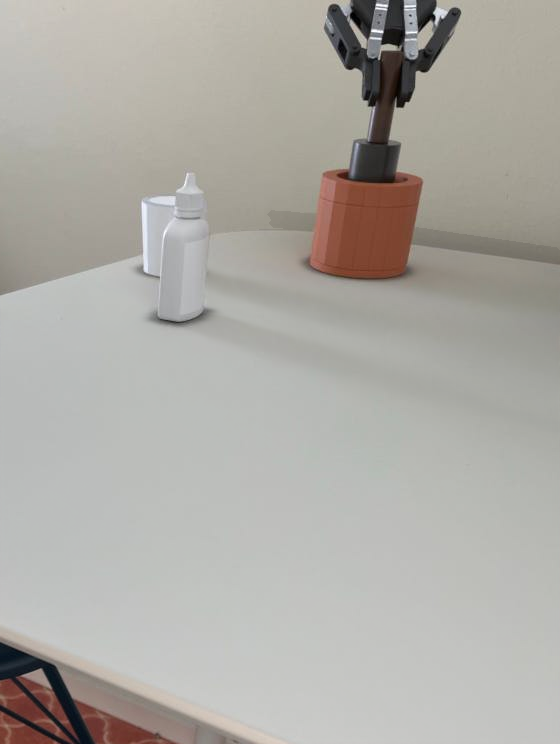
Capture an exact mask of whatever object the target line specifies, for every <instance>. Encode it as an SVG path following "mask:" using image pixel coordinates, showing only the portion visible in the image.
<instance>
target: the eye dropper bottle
mask: <svg viewBox="0 0 560 744" xmlns="http://www.w3.org/2000/svg"><path fill="white" fill-rule="evenodd" d="M204 194H205V192H204V191H203V190H202V189H201V188H199V187H198V185H197V177H196V173H194V172H187V174H186V177H185V181H184V184H183V186H182V187H180V188H178V189H176V190H175V195H176V197H175V212H174V214H175V215H176V216H175V217H174V219H173V220H172V221H171V222H170V223H169V224H168V225H167V227H166V229H165V231H164V234H163V242H162V255H161V270H160V277H159V289H158V303H157V304H158V305H157V317H158V318H159V319H160V320H165V321H169V322H176V323H182V322H186V321H190V320H193V319H195V318H197V317H199V316H200V315H201V314H202V312H203V311H204V307H205V297H206V285H207V273H208V263H209V251H210V249H209V248H210V238H211V237H210V236H211V228H210V225H209V223H208V222H207V221H206V219H205V220H203V219H201V217H200V216H202V209H203V199H204Z"/></svg>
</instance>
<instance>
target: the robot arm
mask: <svg viewBox="0 0 560 744" xmlns="http://www.w3.org/2000/svg"><path fill="white" fill-rule="evenodd" d="M461 16H462V10H461V9H460V8H459V7H457V6H456V7H455V6H454V7H451V8H450V9H449V10H446V9H443V8H442V7H439V6H438V1H437V0H349V3H348V4H346V5H344V6H341V7H340V5H339V4H337V3H332V4H330V5H329V6H328V8H327V12H326V16H325V20H324V21H325V22H324V26H323V30H324V32H325V34H326V36H327V38H328V40H329V41H330V43H331V45H332V47H333V49H334V51H335V53H336V54H337V56H338V58H339V59H340V61H341V63H342V65H343V66H344V68H345V69H346V70H347V71H353V70H354V69H356V70H359V72H361V75H362V77H361V78H362V79H361V99H362V101H364V102H367V107H369V108H372V107H375V105H376V102H377V99H378V95H379V88H380V66H381V60H380V59H379V58H380V54H381V47H382V46H384V45H391V46H394V47H395V49H396V50H395V51H403V52H404V57H403V62H402V68H401V73H400V79H399V85H398V90H397V96H396V102H395V108H396V109H404V108H405V106H406V103H410V102H411V100H412V97H413V95H414V92H415V90H416V80H417V79H416V77H417V76H416V75H417V72H420V73H423V74H424V73H426V74H427V73H429V71H430V70H431V68H432V67H433V66H434V64H435V62H436V61H437V60H438V59H439V57H440V55H441V53H442V52H443V50H444V49H445V48H446V46H447V45H448V43H449V41H450V40H451V38H452V37H453V36H454V34H455V31H456V28H457V26H458V23H459V21H460V19H461ZM351 22H352V23H353V24H354V26H355V27H356V28H357V29H358V31H359V32H360V33H361V34H362V36H363V37H364V38H365V39H366V41H365V47H362V44H361V42H360V41H359V38H358V36H357V35H356V33H355V32H354V30H353V28H352V25H351ZM430 22H431V23H432V28H431V32H432V33H433V34H432V36H431V37H430V38H429V40H428V42H426V45H424V48H421V49H419V46H418V35H419V34H420V32H421V31H422V30H423V29H424V28H425V27H426V26H427V25H428V24H429V23H430Z"/></svg>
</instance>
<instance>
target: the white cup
mask: <svg viewBox="0 0 560 744" xmlns="http://www.w3.org/2000/svg"><path fill="white" fill-rule="evenodd" d="M175 197H176V194H156V195H155V194H154V195H150V196H145V197H143V198H141V200H140V201H141V225H142V226H141V227H142V228H141V230H142V253H143V254H142V256H143V257H142V258H143V259H142V260H143V272H144V273H146V274H147V275H150V276H153V277H159V278H160V270H161V255H162V242H163V234H164V231H165V229H166V227H167V225H168V224H169V223H170V222H171V221H172V220H173V219H174V217H175V216H176V215H175V214H174V212H175ZM207 209H208V200H206V199H204V198H203V209H202V216H200V217H201V219H203V220H205V221H206V216H207Z"/></svg>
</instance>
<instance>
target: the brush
mask: <svg viewBox="0 0 560 744" xmlns="http://www.w3.org/2000/svg"><path fill="white" fill-rule="evenodd" d="M403 57H404V52H403V51H396V50H390V49H389V50H380V54H379V60H381V66H380V88H379V95H378V99H377V102H376V105H375V107H371V109H370V110H371V111H370V115H369V116H370V117H369V123H368V129H367V133H366V134H367V135H366V138H357V139H354V140H353V141H352V146H351V147H352V148H351V153H350V160H349V166H348V169H349V172H348V178H347V180H350V181H356V182H365V183H394V182H395V176H396V172H398V171H397V170H398V164H399V160H400V159H399V158H400V154H401V149H402V148H401V147H402V143H401V141H397V140H393V139H390V136H391V130H392V125H393V119H394V112H395V108H396V96H397V90H398V85H399V79H400V73H401V68H402V62H403Z"/></svg>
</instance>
